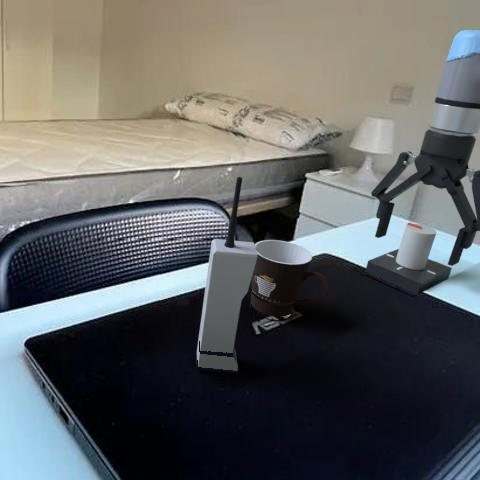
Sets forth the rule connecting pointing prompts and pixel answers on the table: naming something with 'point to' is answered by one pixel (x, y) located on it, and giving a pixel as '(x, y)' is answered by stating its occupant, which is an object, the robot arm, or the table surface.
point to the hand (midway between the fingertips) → (414, 249)
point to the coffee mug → (281, 276)
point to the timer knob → (415, 246)
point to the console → (408, 273)
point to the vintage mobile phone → (225, 294)
